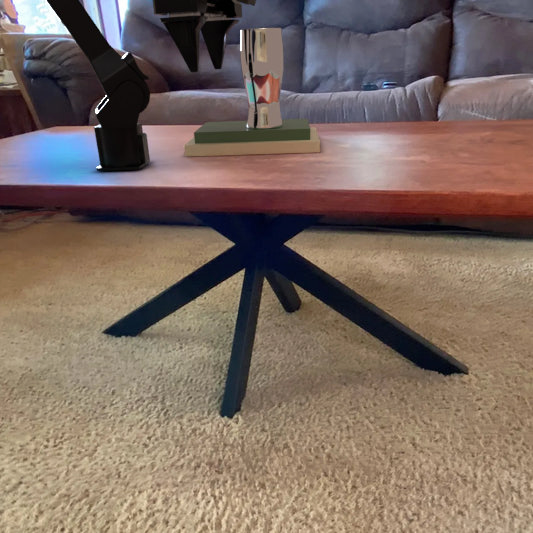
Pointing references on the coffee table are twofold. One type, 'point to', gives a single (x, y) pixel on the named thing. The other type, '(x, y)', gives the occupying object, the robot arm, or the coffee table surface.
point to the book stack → (253, 139)
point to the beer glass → (262, 75)
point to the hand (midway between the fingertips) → (206, 70)
